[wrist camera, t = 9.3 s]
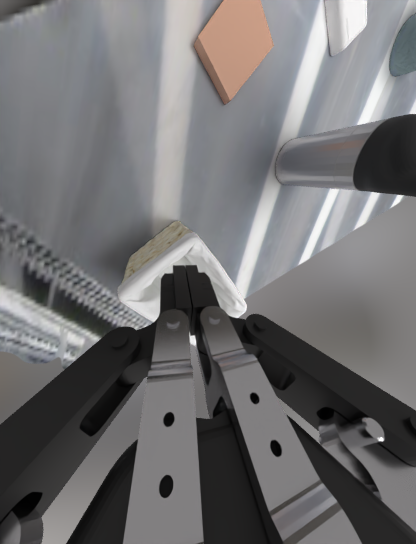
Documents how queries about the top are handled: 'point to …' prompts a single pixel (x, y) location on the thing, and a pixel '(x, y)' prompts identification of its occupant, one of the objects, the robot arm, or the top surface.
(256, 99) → the top surface
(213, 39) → the terracotta tile
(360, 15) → the soap
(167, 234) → the storage basket
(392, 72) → the green ceramic cup
